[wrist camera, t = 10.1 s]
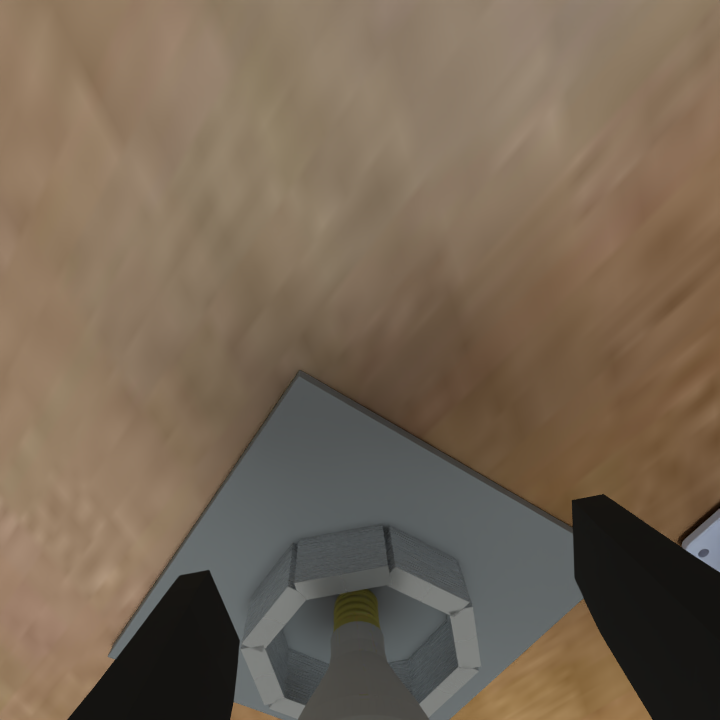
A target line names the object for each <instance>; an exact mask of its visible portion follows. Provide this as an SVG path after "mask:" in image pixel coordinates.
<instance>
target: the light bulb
mask: <svg viewBox="0 0 720 720" xmlns="http://www.w3.org/2000/svg"><path fill="white" fill-rule="evenodd" d="M378 615H379V614H378V601H377V598H376V597H375V595H374V594H373V593H372V592H371V591H370V590H368V589H363V590H358V591H352V592H347V593H341V594H340V595H339V596H338V597H337V599H336V601H335V604H334V630H333V634H332V636H331V659H330V663H329V668H328V670H327V671H326V673H325V675H324V677H323V678H322V680H321V682H320V684H319V685H318V687H317V688H316V690H315V692H314V693H313V695H312V696H311V698H310V699H309V701H308V702H307V704H306V706H305V707H304V709H303V711H302V713H301V714H300V716H299V718H298V720H430V719H429V718H428V716H427V715H426V713H425V712H424V711H423V709H422V708H421V706H420V705H419V703H418V702H417V700H416V699H415V698H414V697H413V695H412V694H411V693H410V692H409V690H408V689H407V688H406V687H405V685H404V684H403V683H402V682H401V680H400V679H399V678H398V676H397V675H396V673H395V672H394V671H393V669H392V668H391V667H390V665H389V664H388V661H387V658H386V655H385V648H384V636H383V633H382V631H381V629H380V624H379V617H378Z"/></svg>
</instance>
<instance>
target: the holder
mask: <svg viewBox="0 0 720 720" xmlns="http://www.w3.org/2000/svg"><path fill="white" fill-rule="evenodd" d="M205 570H210V573H211V575H212V577H213V580H214V582H215V584H216V586H217V589H218V591H219V593H220V596H221V598H222V600H223V603H224V605H225V607H226V610H227V612H228V614H229V616H230V619H231V621H232V623H233V626H234V628H235V630H236V633H237V635H238V637H239V639H240V645H239V656H238V667H237V677H236V686H235V695H234V702H236V703H238V704H241V705H244V706H247V707H250V708H252V709H255V710H258V711H261V712H263V713H266V714H269V715H272V716H275V717H277V718H280V719H283V720H298V718H299V716H300V714H301V713H302V711H303V709H304V707H305V706H306V704H307V702H308V701H309V699H310V698H311V696H312V695H313V693H314V692H315V690H316V688H317V687H318V685H319V684H320V682H321V680H322V678H323V677H324V675H325V673H326V671H327V670H328V668H329V663H330V659H331V636H332V634H333V630H334V604H335V601H336V599H337V597H338V596H339V595H340V594H341V593H347V592H352V591H358V590H363V589H368V590H370V591H371V592H372V593H373V594H374V595H375V597H376V598H377V601H378V614H379V615H378V617H379V624H380V629H381V631H382V633H383V636H384V648H385V655H386V658H387V661H388V664H389V665H390V667H391V668H392V669H393V671H394V672H395V673H396V675H397V676H398V678H399V679H400V680H401V682H402V683H403V684H404V685H405V687H406V688H407V689H408V690H409V692H410V693H411V694H412V695H413V697H414V698H415V699H416V700H417V702H418V703H419V705H420V706H421V708H422V709H423V711H424V712H425V713H426V715H427V716H428V718H429V719H430V720H449V719H450V718H451V717H453V716H454V715H455V714H456V713H457V712H458V711H459V710H460V709H461V708H462V707H464V706H465V705H466V704H467V703H468V702H469V701H470V700H471V699H472V698H474V697H475V696H476V695H477V694H478V693H479V692H480V691H481V690H482V689H483V688H485V687H486V686H487V685H488V684H489V683H490V682H491V681H492V680H493V679H495V678H496V677H497V676H498V675H499V674H500V673H501V672H502V671H503V670H504V669H506V668H507V667H508V666H509V665H510V664H511V663H512V662H513V661H514V660H516V659H517V658H518V657H519V656H520V655H521V654H522V653H523V652H524V651H526V650H527V649H528V648H529V647H530V646H531V645H532V644H533V643H534V642H535V641H537V640H538V639H539V638H540V637H541V636H542V635H543V634H544V633H545V632H547V631H548V630H549V629H550V628H551V627H552V626H553V625H554V624H555V623H556V622H558V621H559V620H560V619H561V618H562V617H563V616H564V615H565V614H566V613H568V612H569V611H570V610H571V609H572V608H573V607H574V606H575V605H576V604H577V603H579V602H580V601H581V600H582V599H583V596H582V593H581V591H580V589H579V587H578V585H577V583H576V580H575V578H574V549H573V528H572V527H570V526H568V525H567V524H565V523H563V522H562V521H560V520H558V519H556V518H555V517H553V516H551V515H549V514H548V513H546V512H544V511H543V510H541V509H539V508H537V507H536V506H534V505H532V504H531V503H529V502H527V501H525V500H524V499H522V498H520V497H518V496H517V495H515V494H513V493H512V492H510V491H508V490H506V489H505V488H503V487H501V486H499V485H498V484H496V483H494V482H493V481H491V480H489V479H487V478H486V477H484V476H482V475H480V474H479V473H477V472H475V471H474V470H472V469H470V468H468V467H467V466H465V465H463V464H461V463H460V462H458V461H456V460H455V459H453V458H451V457H449V456H448V455H446V454H444V453H442V452H441V451H439V450H437V449H436V448H434V447H432V446H430V445H429V444H427V443H425V442H423V441H422V440H420V439H418V438H417V437H415V436H413V435H411V434H410V433H408V432H406V431H404V430H403V429H401V428H399V427H398V426H396V425H394V424H392V423H391V422H389V421H387V420H385V419H384V418H382V417H380V416H379V415H377V414H375V413H373V412H372V411H370V410H368V409H366V408H365V407H363V406H361V405H360V404H358V403H356V402H354V401H353V400H351V399H349V398H347V397H346V396H344V395H342V394H341V393H339V392H337V391H335V390H334V389H332V388H330V387H328V386H327V385H325V384H323V383H322V382H320V381H318V380H316V379H315V378H313V377H311V376H310V375H308V374H306V373H304V372H303V371H301V370H299V372H298V373H297V375H296V376H295V378H294V379H293V381H292V382H291V384H290V385H289V387H288V388H287V390H286V391H285V393H284V394H283V395H282V397H281V398H280V400H279V401H278V403H277V404H276V406H275V407H274V409H273V410H272V412H271V413H270V415H269V416H268V418H267V419H266V420H265V422H264V423H263V425H262V426H261V428H260V429H259V431H258V432H257V434H256V435H255V437H254V438H253V440H252V441H251V443H250V444H249V446H248V447H247V448H246V450H245V451H244V453H243V454H242V456H241V457H240V459H239V460H238V462H237V463H236V465H235V466H234V468H233V469H232V471H231V472H230V474H229V475H228V476H227V478H226V479H225V481H224V482H223V484H222V485H221V487H220V488H219V490H218V491H217V493H216V494H215V496H214V497H213V499H212V500H211V502H210V503H209V504H208V506H207V507H206V509H205V510H204V512H203V513H202V515H201V516H200V518H199V519H198V521H197V522H196V524H195V525H194V527H193V528H192V530H191V531H190V532H189V534H188V535H187V537H186V538H185V540H184V541H183V543H182V544H181V546H180V547H179V549H178V550H177V552H176V553H175V555H174V556H173V558H172V559H171V560H170V562H169V563H168V565H167V566H166V568H165V569H164V571H163V572H162V574H161V575H160V577H159V578H158V580H157V581H156V583H155V584H154V586H153V587H152V588H151V590H150V591H149V593H148V594H147V596H146V597H145V599H144V600H143V602H142V603H141V605H140V606H139V608H138V609H137V611H136V612H135V613H134V615H133V616H132V618H131V619H130V621H129V622H128V624H127V625H126V627H125V628H124V630H123V631H122V633H121V634H120V636H119V637H118V639H117V640H116V641H115V643H114V644H113V646H112V648H111V651H110V653H109V655H108V657H110V658H113V659H116V658H117V657H118V655H119V654H120V653H121V652H122V650H123V649H124V648H125V646H126V645H127V644H128V642H129V641H130V640H131V639H132V637H133V636H134V635H135V633H136V632H137V631H138V629H139V628H140V627H141V625H142V624H143V623H144V621H145V620H146V619H147V617H148V616H149V615H150V613H151V612H152V611H153V609H154V608H155V607H156V605H157V604H158V603H159V601H160V600H161V599H162V597H163V596H164V595H165V593H166V592H167V591H168V589H169V588H170V587H171V585H172V584H173V583H174V582H175V580H176V579H177V578H178V577H179V575H184V574H189V573H194V572H200V571H205Z"/></svg>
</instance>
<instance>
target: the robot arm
mask: <svg viewBox="0 0 720 720" xmlns="http://www.w3.org/2000/svg"><path fill="white" fill-rule="evenodd" d="M572 519H573V549H574V578H575V580H576V583H577V585H578V587H579V589H580V591H581V593H582V596H583V598H584V600H585V602H586V604H587V606H588V608H589V611H590V613H591V615H592V617H593V619H594V621H595V623H596V625H597V627H598V629H599V631H600V633H601V635H602V636H603V638H604V640H605V641H606V643H607V645H608V647H609V648H610V650H611V652H612V653H613V655H614V657H615V658H616V660H617V662H618V663H619V665H620V666H621V668H622V670H623V671H624V673H625V675H626V676H627V678H628V680H629V681H630V683H631V685H632V686H633V688H634V690H635V691H636V693H637V695H638V696H639V698H640V699H641V701H642V703H643V704H644V706H645V708H646V709H647V711H648V713H649V714H650V716H651V717H652V719H653V720H720V509H718V510H717V511H716V512H715V513H714V514H713V515H712V516H710V517H709V518H708V519H707V520H706V521H705V522H704V523H702V524H701V525H700V526H699V527H698V528H697V529H696V530H695V531H693V532H692V533H691V534H690V535H689V536H688V537H687V538H685V539H684V541H683V542H682V545H681V546H682V547H680V546H679V545H677V544H676V543H674V542H673V541H671V540H670V539H668V538H667V537H666V536H664V535H663V534H661V533H660V532H658V531H657V530H655V529H654V528H652V527H651V526H649V525H648V524H646V523H645V522H644V521H642V520H641V519H639V518H638V517H636V516H635V515H633V514H632V513H630V512H629V511H628V510H626V509H625V508H623V507H622V506H620V505H619V504H617V503H616V502H614V501H613V500H611V499H610V498H608V497H607V496H605V495H604V494H602V495H597V496H592V497H586V498H581V499H576V500H572ZM239 645H240V639H239V637H238V635H237V633H236V630H235V628H234V626H233V623H232V621H231V619H230V616H229V614H228V612H227V610H226V607H225V605H224V603H223V600H222V598H221V596H220V593H219V591H218V589H217V586H216V584H215V582H214V580H213V577H212V575H211V573H210V570H205V571H200V572H194V573H189V574H184V575H179V577H178V578H177V579H176V580H175V582H174V583H173V584H172V585H171V587H170V588H169V589H168V591H167V592H166V593H165V595H164V596H163V597H162V599H161V600H160V601H159V603H158V604H157V605H156V607H155V608H154V609H153V611H152V612H151V613H150V615H149V616H148V617H147V619H146V620H145V621H144V623H143V624H142V625H141V627H140V628H139V629H138V631H137V632H136V633H135V635H134V636H133V637H132V639H131V640H130V641H129V642H128V644H127V645H126V646H125V648H124V649H123V650H122V652H121V653H120V654H119V655H118V657H117V658H116V659H115V661H114V662H113V663H112V665H111V666H110V667H109V668H108V670H107V671H106V672H105V674H104V675H103V676H102V678H101V679H100V680H99V681H98V683H97V684H96V685H95V687H94V688H93V689H92V690H91V692H90V693H89V694H88V695H87V696H86V698H85V699H84V700H83V701H82V702H81V704H80V705H79V706H78V707H77V709H76V710H75V711H74V712H73V713H72V715H71V716H70V717H69V718H68V719H67V720H230V717H231V712H232V707H233V702H234V695H235V686H236V677H237V667H238V656H239Z"/></svg>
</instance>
